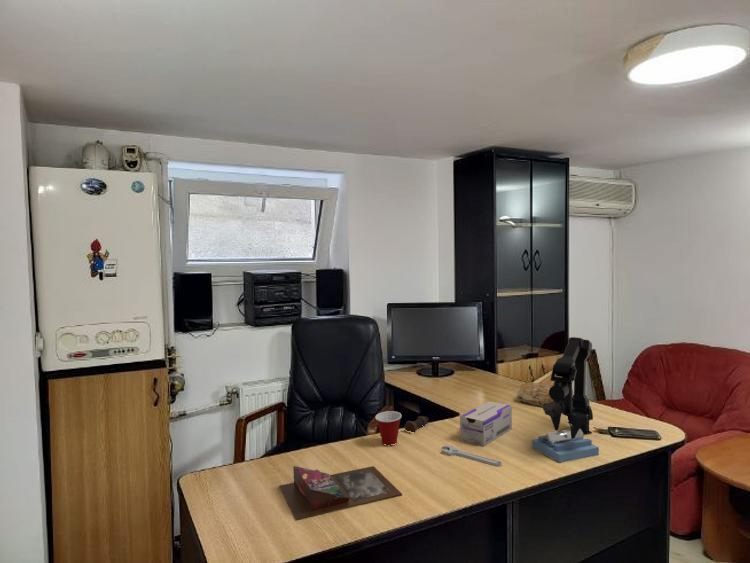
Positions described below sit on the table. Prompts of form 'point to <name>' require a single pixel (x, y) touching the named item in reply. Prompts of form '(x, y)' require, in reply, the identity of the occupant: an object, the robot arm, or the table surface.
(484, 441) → the surgical sutures box
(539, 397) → the petrified wood
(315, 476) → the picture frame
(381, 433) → the plastic cup
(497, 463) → the adjustable wrench
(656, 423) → the table surface
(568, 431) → the axle
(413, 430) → the bolt
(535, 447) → the cradle
